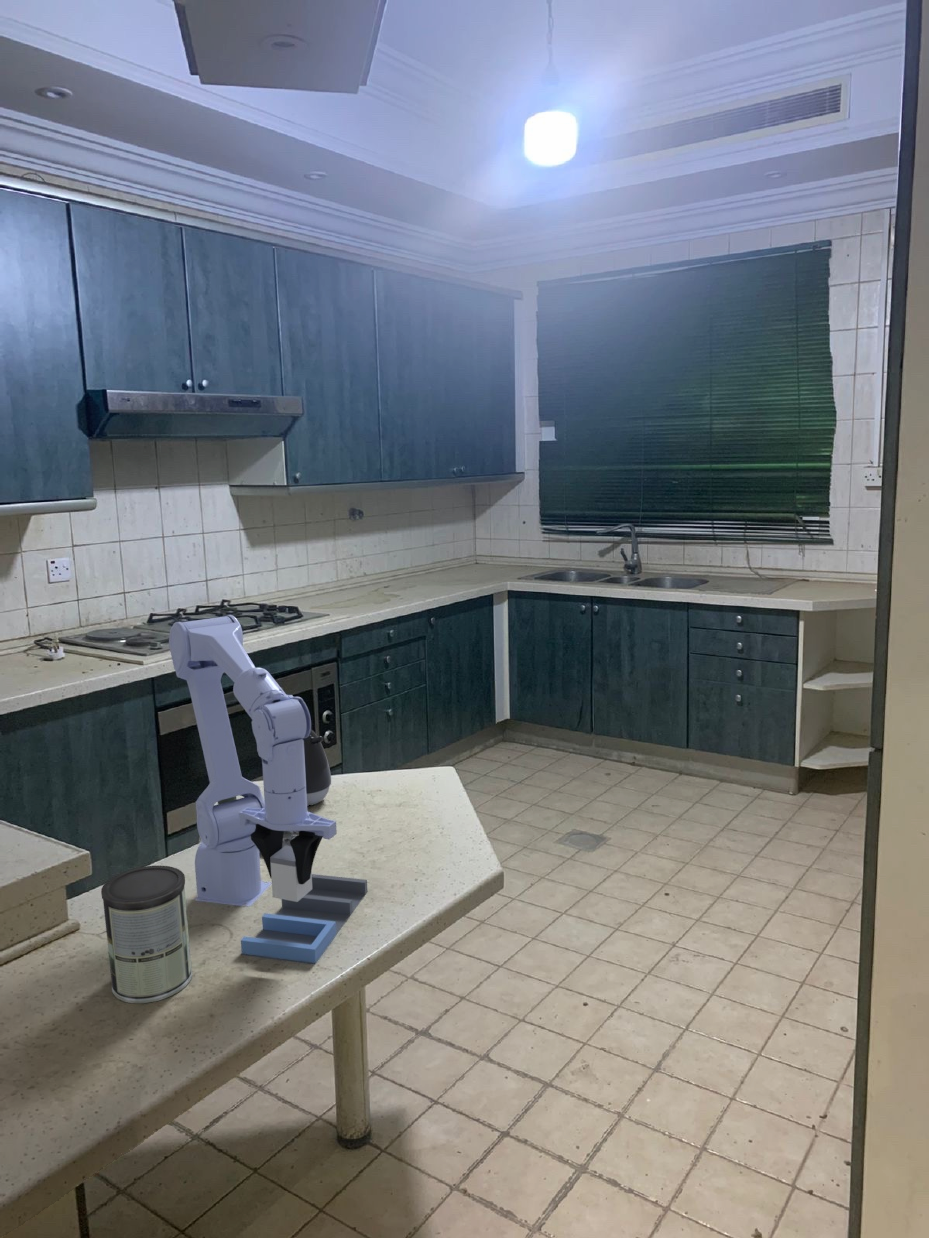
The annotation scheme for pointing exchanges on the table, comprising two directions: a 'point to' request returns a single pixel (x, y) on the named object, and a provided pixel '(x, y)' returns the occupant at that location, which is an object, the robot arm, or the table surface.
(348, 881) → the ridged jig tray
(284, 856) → the grey square block
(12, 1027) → the table surface
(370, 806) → the table surface
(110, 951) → the coffee can
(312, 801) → the black penguin toy
